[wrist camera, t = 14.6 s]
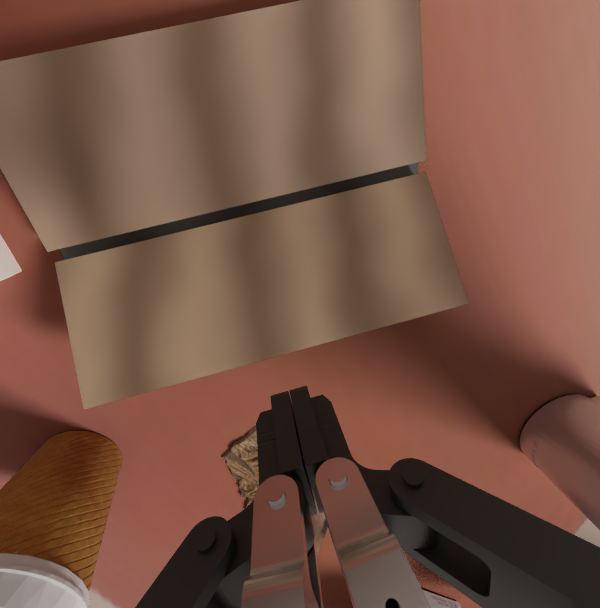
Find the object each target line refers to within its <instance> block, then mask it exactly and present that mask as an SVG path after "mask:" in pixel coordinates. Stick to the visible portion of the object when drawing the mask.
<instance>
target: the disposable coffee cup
mask: <svg viewBox="0 0 600 608" xmlns="http://www.w3.org/2000/svg"><path fill="white" fill-rule="evenodd" d="M121 464H122V455H121V452H120V450H119V449H118V447H117V446H116V445H115V444H114V443H113V442H112V441H111V440H109V439H108V438H106V437H104V436H102V435H99V434H97V433H93V432H88V431H67V432H63V433H59V434H57V435H55V436H53V437H51V438H50V439H48V440H47V441H46V442H45V443H44V444H43V445H42V446H41V447H40V448H39V449H38V451H37V452H36V453H35V454H34V455H33V456H32V457H31V458H30V459H29V460H28V461H27V462H26V463H25V464H24V465H23V466H22V467H21V468H20V470H19V471H18V472H17V473H16V474H15V475H14V476H13V477H12V478H11V479H10V480H9V481H8V482H7V483H6V484H5V485H4V486H3V488H2V489H1V490H0V608H90V607H89V600H90V598H89V589H90V586H91V581H92V577H93V573H94V569H95V565H96V561H97V558H98V554H99V549H100V546H101V543H102V538H103V534H104V530H105V526H106V522H107V518H108V514H109V511H110V505H111V503H112V498H113V495H114V490H115V487H116V483H117V479H118V475H119V470H120V467H121Z"/></svg>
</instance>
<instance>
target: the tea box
mask: <svg viewBox="0 0 600 608" xmlns="http://www.w3.org/2000/svg"><path fill="white" fill-rule="evenodd" d="M423 592H424V594H425V596H426V599H427V601H428V603H429V605H430V607H431V608H461V606H460V604H459V603H458V602H456V601H453V600H450V599H447V598H445V597H442V596H439V595H436V594H433V593H431V592H428V591H425V590H423Z"/></svg>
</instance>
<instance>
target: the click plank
mask: <svg viewBox="0 0 600 608" xmlns="http://www.w3.org/2000/svg"><path fill="white" fill-rule="evenodd" d="M55 267H56V272H57V277H58V282H59V287H60V292H61V297H62V302H63V307H64V312H65V317H66V322H67V327H68V332H69V337H70V343H71V348H72V353H73V358H74V363H75V368H76V373H77V378H78V383H79V388H80V393H81V398H82V403H83V408H84V409H87V408H91V407H95V406H98V405H102V404H106V403H109V402H113V401H116V400H120V399H124V398H127V397H131V396H135V395H138V394H142V393H146V392H149V391H153V390H157V389H160V388H164V387H167V386H171V385H175V384H178V383H182V382H186V381H189V380H193V379H197V378H200V377H204V376H207V375H211V374H215V373H218V372H222V371H226V370H229V369H233V368H237V367H240V366H244V365H247V364H251V363H255V362H258V361H262V360H266V359H269V358H273V357H277V356H280V355H284V354H287V353H291V352H295V351H298V350H302V349H306V348H309V347H313V346H317V345H320V344H324V343H328V342H331V341H335V340H338V339H342V338H346V337H349V336H353V335H357V334H360V333H364V332H368V331H371V330H375V329H378V328H382V327H386V326H389V325H393V324H397V323H400V322H404V321H408V320H411V319H415V318H418V317H422V316H426V315H429V314H433V313H437V312H440V311H444V310H448V309H451V308H455V307H458V306H462V305H466V304H469V303H468V300H467V297H466V294H465V291H464V288H463V285H462V282H461V279H460V276H459V273H458V270H457V266H456V263H455V260H454V257H453V254H452V251H451V248H450V245H449V242H448V239H447V236H446V233H445V229H444V226H443V223H442V220H441V217H440V214H439V211H438V208H437V205H436V202H435V199H434V196H433V192H432V189H431V186H430V183H429V180H428V177H427V174H426V172H423V173H419V174H415V175H411V176H407V177H403V178H399V179H394V180H390V181H386V182H382V183H378V184H374V185H370V186H366V187H362V188H358V189H354V190H349V191H345V192H341V193H337V194H333V195H329V196H325V197H321V198H317V199H313V200H309V201H304V202H300V203H296V204H292V205H288V206H284V207H280V208H276V209H272V210H268V211H263V212H259V213H255V214H251V215H247V216H243V217H239V218H235V219H231V220H227V221H223V222H218V223H214V224H210V225H206V226H202V227H198V228H194V229H190V230H186V231H182V232H177V233H173V234H169V235H165V236H161V237H157V238H153V239H149V240H145V241H141V242H137V243H132V244H128V245H124V246H120V247H116V248H112V249H108V250H104V251H100V252H96V253H91V254H87V255H83V256H79V257H75V258H71V259H67V260H63V261H59V262H55Z"/></svg>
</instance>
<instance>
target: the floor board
mask: <svg viewBox="0 0 600 608" xmlns="http://www.w3.org/2000/svg"><path fill="white" fill-rule="evenodd" d="M421 161H426V141H425V116H424V91H423V66H422V41H421V16H420V0H300V1H295V2H290V3H285V4H280V5H275V6H270V7H265V8H261V9H256V10H251V11H246V12H241V13H236V14H231V15H226V16H221V17H216V18H211V19H206V20H201V21H196V22H191V23H186V24H181V25H176V26H172V27H167V28H162V29H157V30H152V31H147V32H142V33H137V34H132V35H127V36H122V37H117V38H112V39H107V40H102V41H97V42H92V43H87V44H83V45H78V46H73V47H68V48H63V49H58V50H53V51H48V52H43V53H38V54H33V55H28V56H23V57H18V58H13V59H8V60H3V61H0V169H1V170H2V172H3V174H4V176H5V178H6V179H7V181H8V183H9V185H10V186H11V188H12V190H13V192H14V194H15V195H16V197H17V199H18V201H19V202H20V204H21V206H22V208H23V210H24V211H25V213H26V215H27V217H28V218H29V220H30V222H31V224H32V225H33V227H34V229H35V231H36V233H37V234H38V236H39V238H40V240H41V241H42V243H43V245H44V247H45V249H46V250H47V252H49V251H53V250H58V249H59V250H60V252H61V254H62V255H63V257H64V259H65V260H67V259H71V258H75V257H79V256H83V255H87V254H91V253H96V252H100V251H104V250H108V249H112V248H116V247H120V246H124V245H128V244H132V243H137V242H141V241H145V240H149V239H153V238H157V237H161V236H165V235H169V234H173V233H177V232H182V231H186V230H190V229H194V228H198V227H202V226H206V225H210V224H214V223H218V222H223V221H227V220H231V219H235V218H239V217H243V216H247V215H251V214H255V213H259V212H263V211H268V210H272V209H276V208H280V207H284V206H288V205H292V204H296V203H300V202H304V201H309V200H313V199H317V198H321V197H325V196H329V195H333V194H337V193H341V192H345V191H349V190H354V189H358V188H362V187H366V186H370V185H374V184H378V183H382V182H386V181H390V180H394V179H399V178H403V177H407V176H411V175H415V174H418V171H417V162H421Z"/></svg>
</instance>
